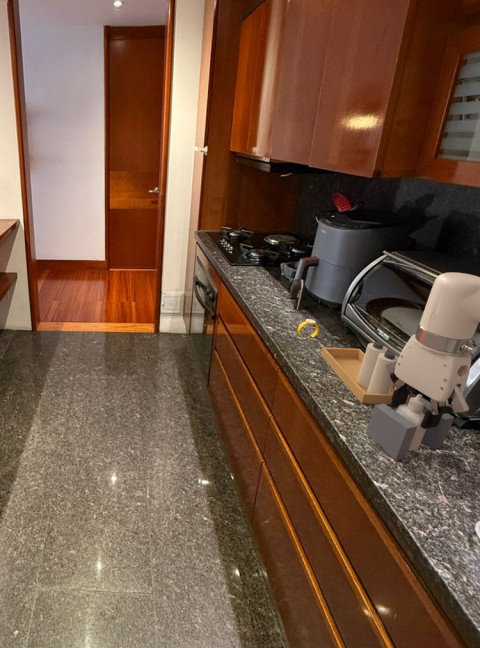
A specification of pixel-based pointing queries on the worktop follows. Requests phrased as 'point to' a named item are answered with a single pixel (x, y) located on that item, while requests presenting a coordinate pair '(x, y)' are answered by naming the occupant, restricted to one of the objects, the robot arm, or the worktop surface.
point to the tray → (353, 373)
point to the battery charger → (297, 292)
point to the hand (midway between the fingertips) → (412, 415)
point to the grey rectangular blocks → (403, 430)
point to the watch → (311, 322)
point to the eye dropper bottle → (414, 418)
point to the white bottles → (376, 369)
